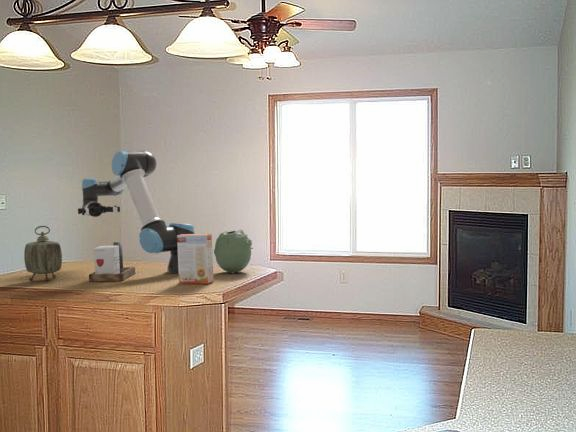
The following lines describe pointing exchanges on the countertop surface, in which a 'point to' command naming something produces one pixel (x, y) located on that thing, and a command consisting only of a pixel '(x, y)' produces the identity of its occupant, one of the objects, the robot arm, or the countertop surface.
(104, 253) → the supplement box
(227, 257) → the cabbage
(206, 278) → the cracker box
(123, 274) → the wooden tray
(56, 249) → the tabletop clock
